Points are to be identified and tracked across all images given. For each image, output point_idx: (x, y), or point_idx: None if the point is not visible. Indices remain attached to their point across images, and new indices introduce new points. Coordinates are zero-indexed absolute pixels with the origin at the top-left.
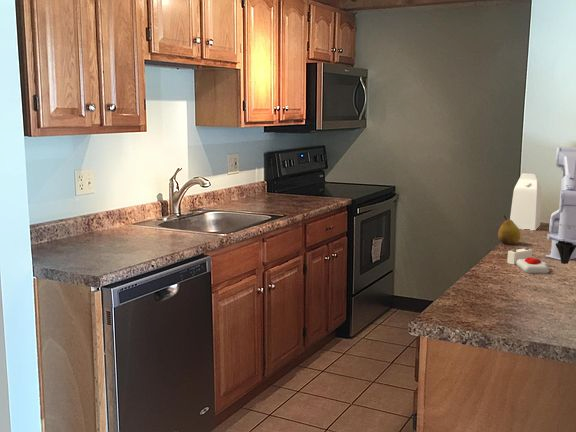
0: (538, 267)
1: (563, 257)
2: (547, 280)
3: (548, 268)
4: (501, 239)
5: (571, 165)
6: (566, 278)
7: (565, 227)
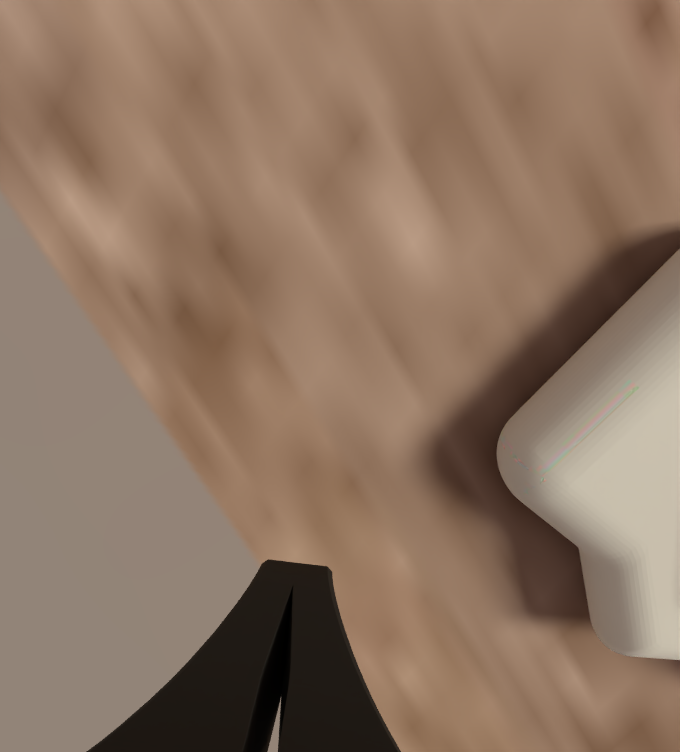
0: (630, 368)
1: (257, 626)
2: (307, 95)
3: (513, 479)
4: None
5: None
6: (221, 415)
7: None
